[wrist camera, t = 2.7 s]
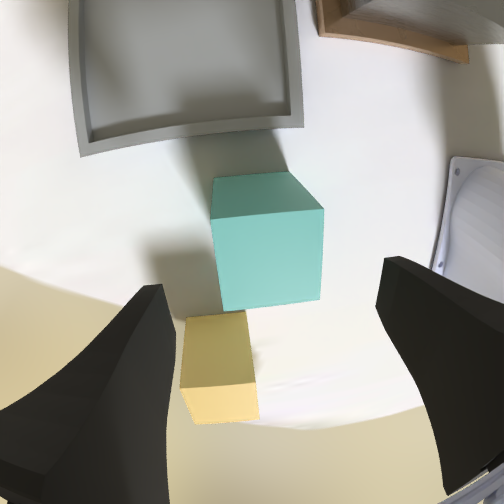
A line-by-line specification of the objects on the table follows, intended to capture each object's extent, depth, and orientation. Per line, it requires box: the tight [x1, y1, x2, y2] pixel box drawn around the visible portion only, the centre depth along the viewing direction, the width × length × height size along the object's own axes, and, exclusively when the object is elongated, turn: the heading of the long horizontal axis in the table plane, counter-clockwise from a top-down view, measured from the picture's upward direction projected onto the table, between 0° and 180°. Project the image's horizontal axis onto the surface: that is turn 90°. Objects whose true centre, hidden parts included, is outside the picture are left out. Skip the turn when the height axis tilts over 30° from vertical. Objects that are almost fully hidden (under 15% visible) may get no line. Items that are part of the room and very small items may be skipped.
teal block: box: [210, 171, 324, 311], centre depth 14 cm, size 4×4×6 cm
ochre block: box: [180, 312, 260, 424], centre depth 18 cm, size 4×4×6 cm
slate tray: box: [68, 0, 304, 158], centre depth 11 cm, size 11×11×2 cm
